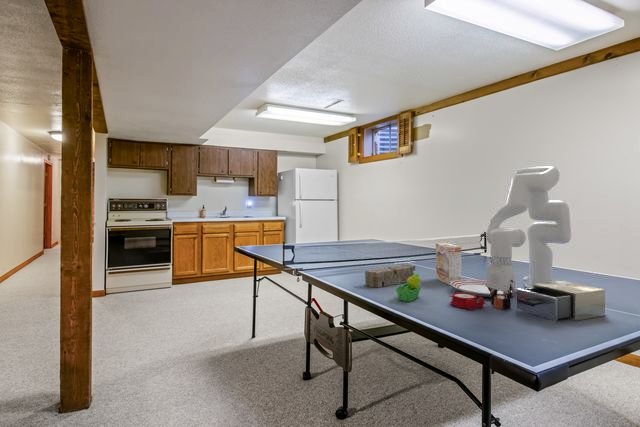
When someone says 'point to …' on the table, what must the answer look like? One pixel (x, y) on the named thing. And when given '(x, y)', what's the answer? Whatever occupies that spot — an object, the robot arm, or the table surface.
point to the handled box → (545, 303)
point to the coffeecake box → (448, 262)
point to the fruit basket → (409, 289)
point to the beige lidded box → (580, 298)
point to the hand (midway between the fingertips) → (500, 306)
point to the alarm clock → (467, 300)
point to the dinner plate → (474, 287)
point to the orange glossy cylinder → (498, 302)
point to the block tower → (388, 275)
